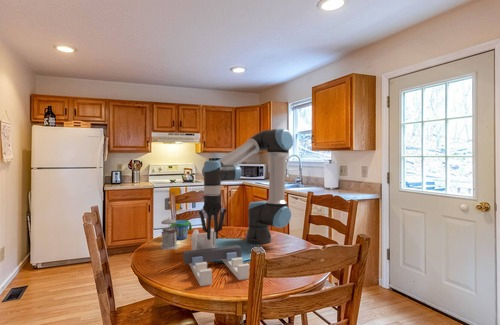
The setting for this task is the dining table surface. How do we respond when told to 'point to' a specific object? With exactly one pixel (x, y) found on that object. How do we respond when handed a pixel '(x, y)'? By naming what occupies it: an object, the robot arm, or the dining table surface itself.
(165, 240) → the french press
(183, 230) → the snack cup
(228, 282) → the dining table surface
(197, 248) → the cable organizer
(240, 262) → the white notched holder
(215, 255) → the dark gray bar
